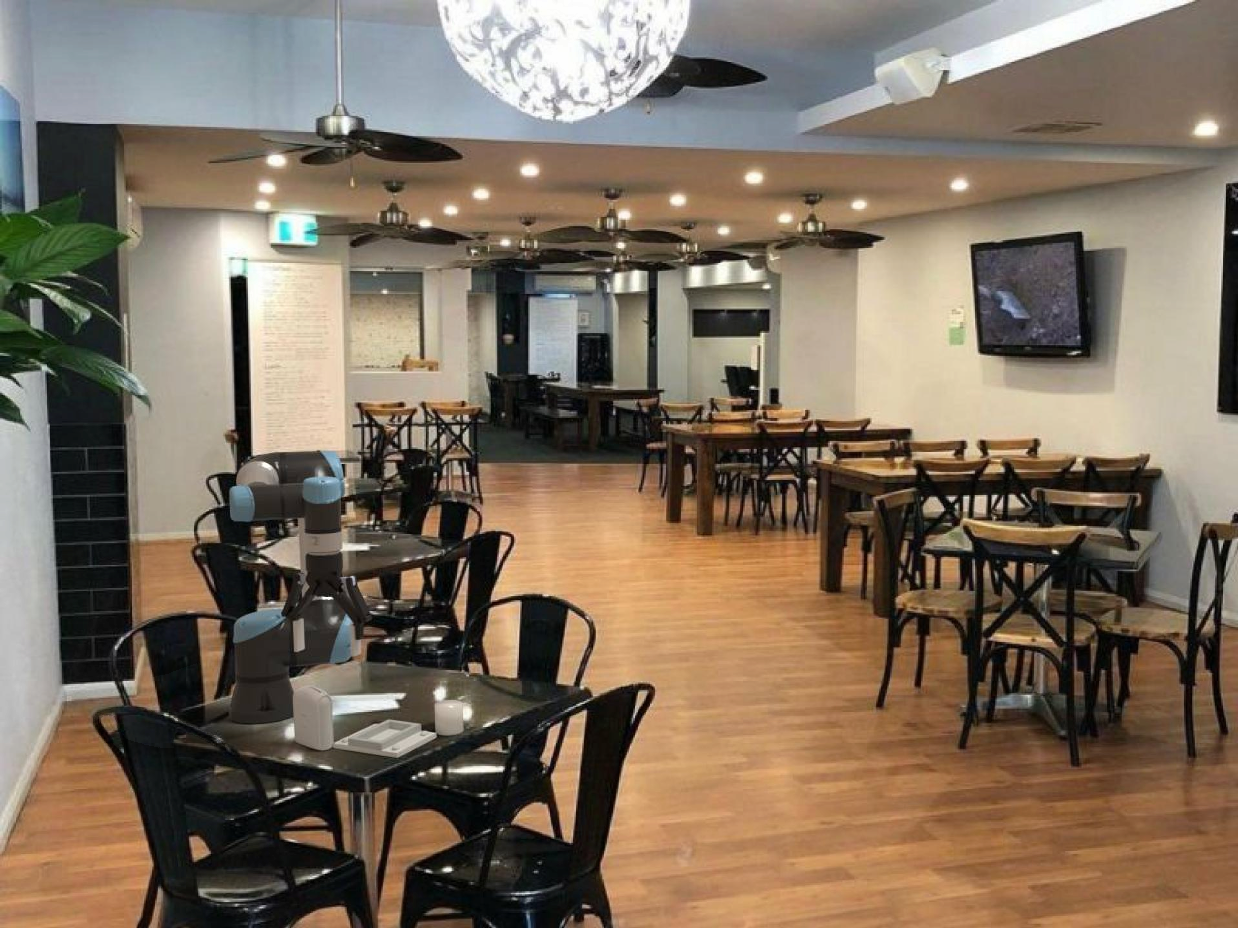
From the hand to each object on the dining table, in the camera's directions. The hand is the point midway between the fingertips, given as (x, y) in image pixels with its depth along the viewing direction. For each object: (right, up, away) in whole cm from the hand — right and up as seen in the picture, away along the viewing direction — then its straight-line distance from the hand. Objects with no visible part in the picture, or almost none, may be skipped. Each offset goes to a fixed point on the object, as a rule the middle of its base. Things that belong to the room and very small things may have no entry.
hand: (327, 652), depth 249 cm
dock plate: (+12, -19, +1) cm, 22 cm away
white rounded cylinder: (+24, -18, +8) cm, 31 cm away
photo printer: (-3, -20, 0) cm, 20 cm away
